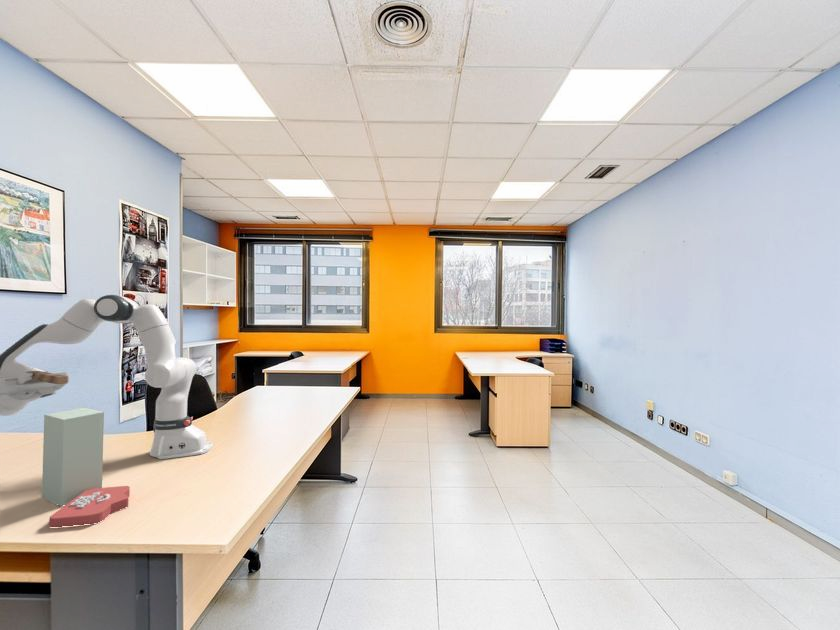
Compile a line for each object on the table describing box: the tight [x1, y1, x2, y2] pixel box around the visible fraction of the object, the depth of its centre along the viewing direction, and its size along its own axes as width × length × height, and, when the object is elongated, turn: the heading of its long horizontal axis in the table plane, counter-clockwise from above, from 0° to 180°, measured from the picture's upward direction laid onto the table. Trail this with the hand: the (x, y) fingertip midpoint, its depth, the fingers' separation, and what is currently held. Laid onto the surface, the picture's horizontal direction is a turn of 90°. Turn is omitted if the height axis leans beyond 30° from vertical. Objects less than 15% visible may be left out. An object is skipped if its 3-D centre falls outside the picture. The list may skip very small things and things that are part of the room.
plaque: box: [48, 485, 131, 527], centre depth 108 cm, size 18×4×15 cm
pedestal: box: [41, 407, 105, 507], centre depth 116 cm, size 12×10×26 cm
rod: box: [27, 371, 69, 385], centre depth 124 cm, size 22×2×2 cm, turn 66°
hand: (38, 374), depth 127 cm, fingers closed on rod, 2 cm apart
